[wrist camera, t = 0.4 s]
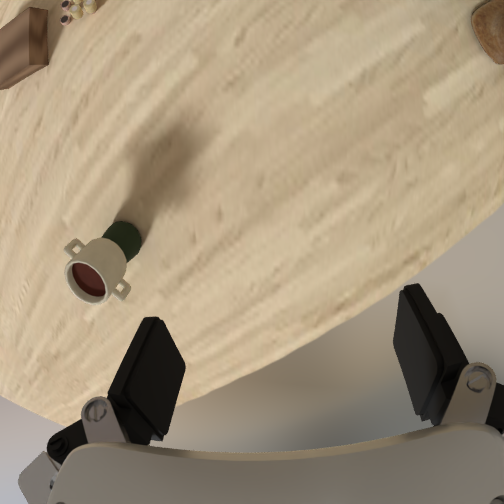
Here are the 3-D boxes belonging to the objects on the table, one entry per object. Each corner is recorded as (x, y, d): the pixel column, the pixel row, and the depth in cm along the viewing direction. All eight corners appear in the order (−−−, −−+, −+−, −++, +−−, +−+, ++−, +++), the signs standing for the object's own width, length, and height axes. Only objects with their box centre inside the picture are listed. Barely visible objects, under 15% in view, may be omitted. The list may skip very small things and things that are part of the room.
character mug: (92, 229, 44) (48, 271, 33) (111, 200, 41) (63, 238, 30) (140, 271, 47) (107, 323, 36) (163, 245, 45) (129, 296, 33)
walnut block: (8, 37, 27) (-10, 37, 22) (48, 10, 25) (29, 7, 21) (9, 88, 32) (-10, 91, 27) (49, 64, 31) (29, 65, 26)
